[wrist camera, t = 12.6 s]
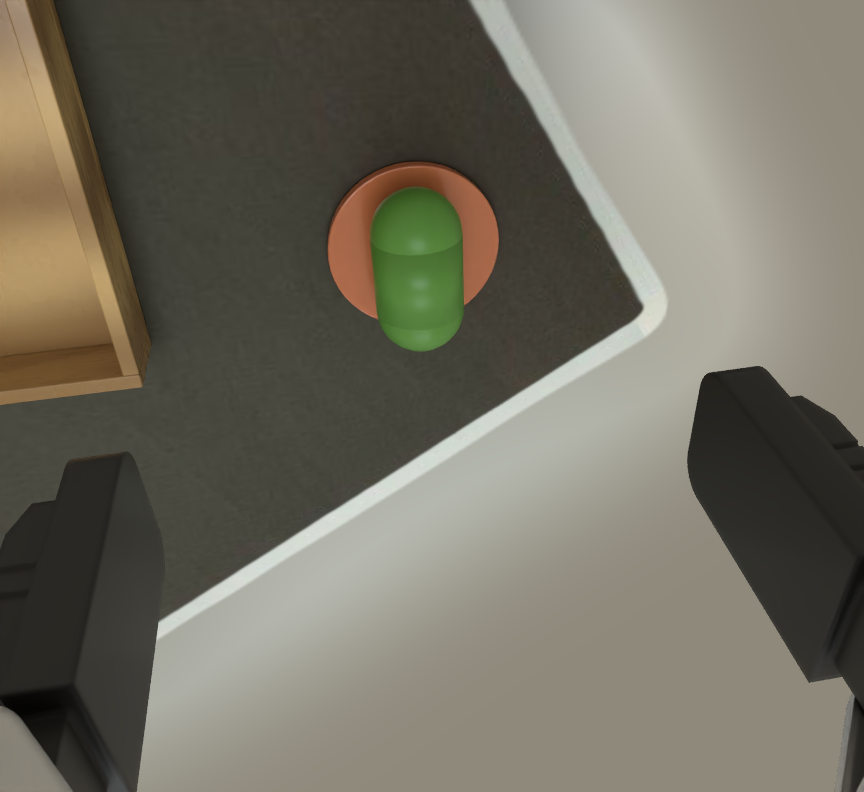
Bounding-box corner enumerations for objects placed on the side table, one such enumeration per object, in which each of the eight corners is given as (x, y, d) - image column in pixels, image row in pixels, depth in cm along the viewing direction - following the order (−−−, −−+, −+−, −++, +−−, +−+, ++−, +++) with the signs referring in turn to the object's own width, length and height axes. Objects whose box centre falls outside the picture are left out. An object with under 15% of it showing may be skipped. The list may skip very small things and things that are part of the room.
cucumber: (365, 175, 36) (366, 212, 33) (456, 169, 36) (466, 205, 33) (378, 325, 40) (381, 371, 37) (459, 319, 40) (469, 364, 37)
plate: (316, 170, 36) (317, 175, 35) (496, 152, 37) (500, 157, 36) (336, 327, 40) (337, 334, 40) (495, 308, 41) (498, 314, 41)
